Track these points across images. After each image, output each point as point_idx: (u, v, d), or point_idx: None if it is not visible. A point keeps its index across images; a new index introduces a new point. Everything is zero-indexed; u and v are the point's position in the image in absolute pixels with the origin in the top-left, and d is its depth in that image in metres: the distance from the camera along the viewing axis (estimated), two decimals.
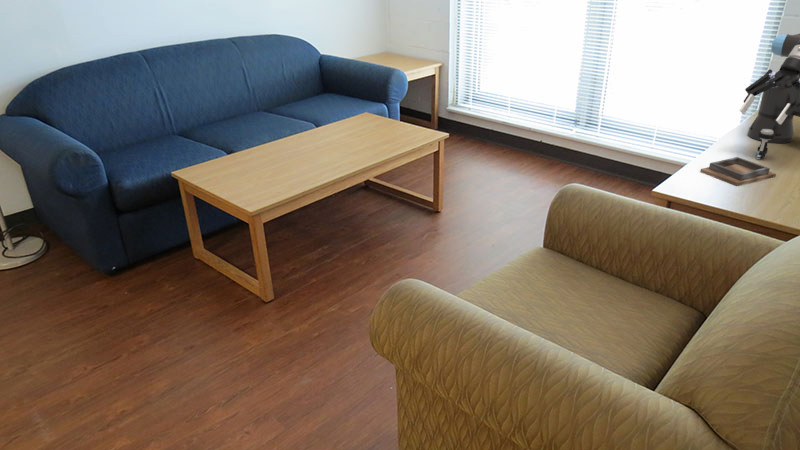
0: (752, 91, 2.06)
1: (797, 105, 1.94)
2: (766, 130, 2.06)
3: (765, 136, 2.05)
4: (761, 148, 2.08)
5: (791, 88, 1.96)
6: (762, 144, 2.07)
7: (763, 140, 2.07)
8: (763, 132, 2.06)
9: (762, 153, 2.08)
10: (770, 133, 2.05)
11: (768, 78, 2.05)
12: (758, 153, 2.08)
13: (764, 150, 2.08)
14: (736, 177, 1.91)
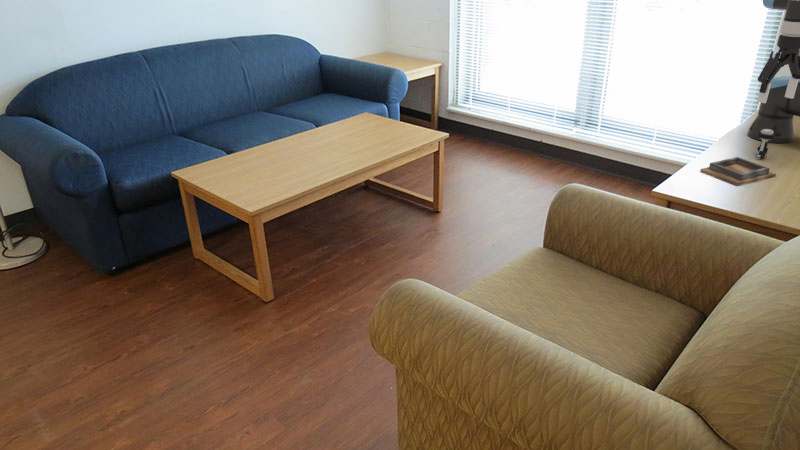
0: (769, 80, 1.94)
1: None
2: (766, 130, 2.06)
3: (765, 136, 2.05)
4: (761, 148, 2.08)
5: (797, 64, 1.96)
6: (762, 144, 2.07)
7: (763, 140, 2.07)
8: (763, 132, 2.06)
9: (762, 153, 2.08)
10: (770, 133, 2.05)
11: None
12: (758, 153, 2.08)
13: (764, 150, 2.08)
14: (736, 177, 1.91)
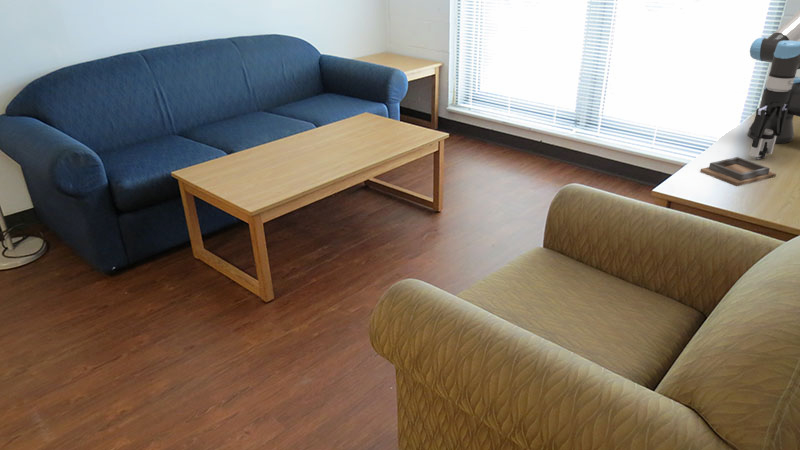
0: (761, 135, 2.04)
1: None
2: (766, 130, 2.06)
3: (765, 136, 2.05)
4: (761, 148, 2.08)
5: (779, 119, 2.04)
6: (762, 144, 2.07)
7: (763, 140, 2.07)
8: None
9: (762, 153, 2.08)
10: (770, 133, 2.05)
11: None
12: None
13: (764, 150, 2.08)
14: (736, 177, 1.91)
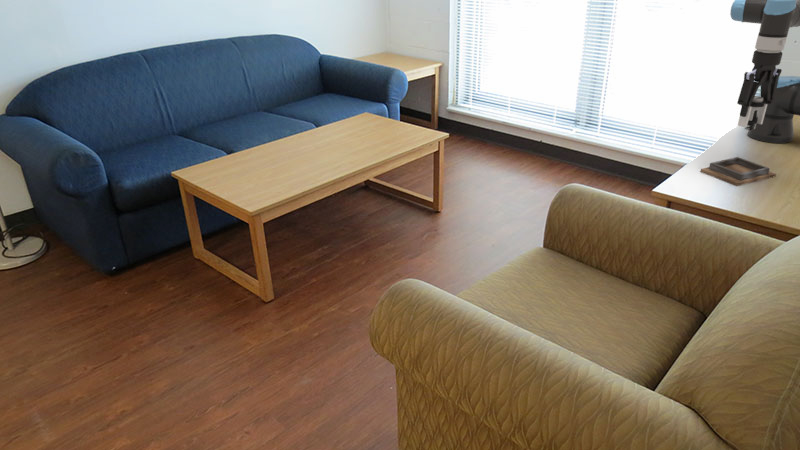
0: (750, 103, 1.84)
1: None
2: (755, 97, 1.86)
3: (754, 104, 1.85)
4: (750, 117, 1.88)
5: (769, 85, 1.84)
6: (751, 113, 1.87)
7: (752, 108, 1.87)
8: None
9: (751, 123, 1.88)
10: (760, 100, 1.85)
11: None
12: None
13: (753, 119, 1.88)
14: (736, 177, 1.91)
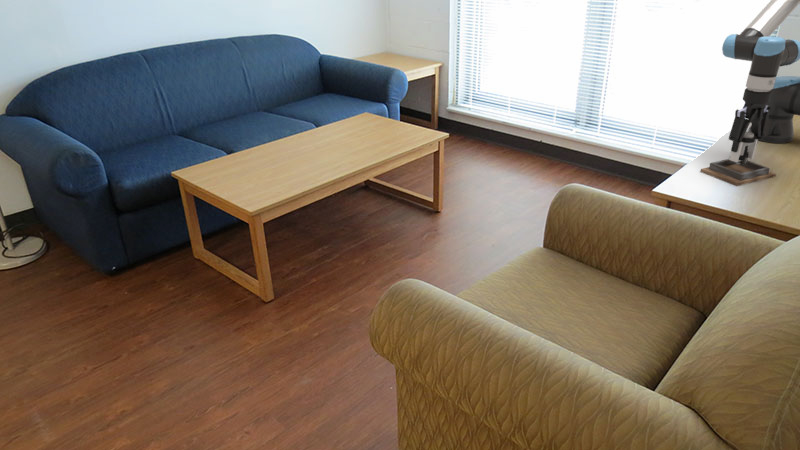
0: (741, 139, 1.89)
1: None
2: (746, 133, 1.91)
3: (745, 139, 1.90)
4: (741, 152, 1.93)
5: (760, 121, 1.89)
6: (742, 148, 1.92)
7: (743, 144, 1.92)
8: None
9: (742, 158, 1.93)
10: (750, 136, 1.90)
11: None
12: None
13: (744, 154, 1.93)
14: (736, 177, 1.91)
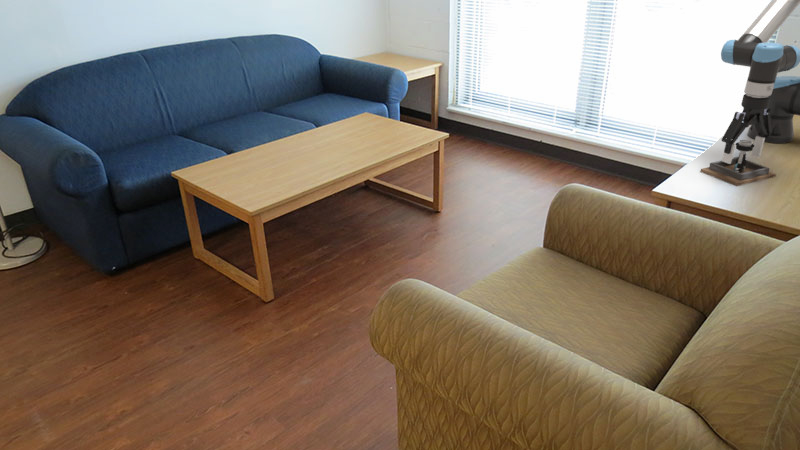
0: (734, 141, 1.88)
1: None
2: (744, 141, 1.93)
3: (743, 148, 1.92)
4: (739, 160, 1.94)
5: (762, 124, 1.90)
6: (740, 156, 1.94)
7: (741, 152, 1.93)
8: (741, 143, 1.93)
9: (740, 166, 1.94)
10: (748, 144, 1.92)
11: None
12: (736, 166, 1.95)
13: (742, 163, 1.95)
14: (736, 177, 1.91)
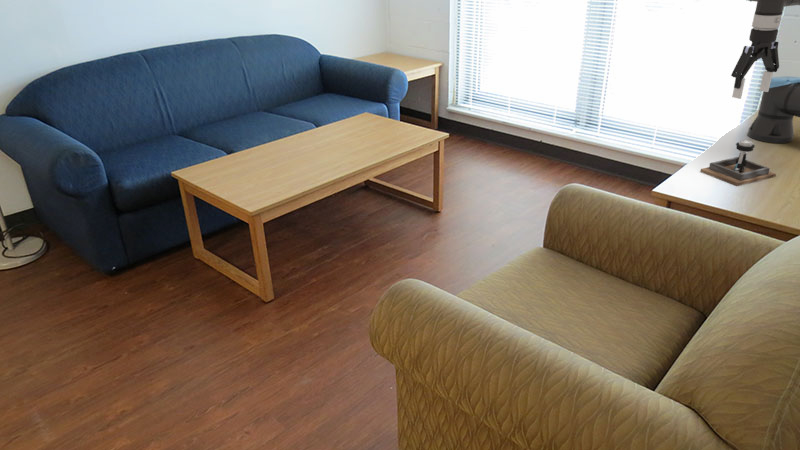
0: (743, 75, 1.91)
1: None
2: (744, 141, 1.93)
3: (743, 148, 1.92)
4: (739, 161, 1.94)
5: (770, 57, 1.94)
6: (740, 156, 1.94)
7: (741, 152, 1.93)
8: (741, 144, 1.92)
9: (740, 166, 1.94)
10: (749, 145, 1.91)
11: None
12: (736, 166, 1.95)
13: (743, 163, 1.95)
14: (736, 177, 1.91)
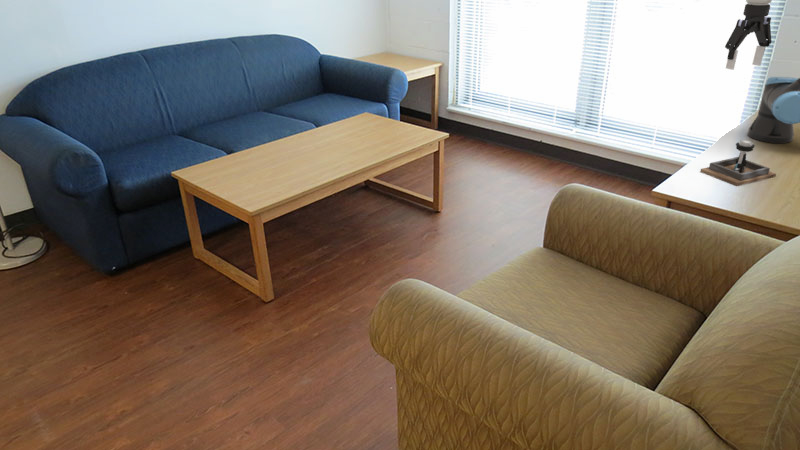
0: (736, 47, 2.04)
1: None
2: (744, 141, 1.93)
3: (743, 148, 1.92)
4: (739, 161, 1.94)
5: (762, 32, 2.07)
6: (740, 156, 1.94)
7: (741, 152, 1.93)
8: (741, 144, 1.92)
9: (740, 166, 1.94)
10: (749, 145, 1.91)
11: None
12: (736, 166, 1.95)
13: (743, 163, 1.95)
14: (736, 177, 1.91)
